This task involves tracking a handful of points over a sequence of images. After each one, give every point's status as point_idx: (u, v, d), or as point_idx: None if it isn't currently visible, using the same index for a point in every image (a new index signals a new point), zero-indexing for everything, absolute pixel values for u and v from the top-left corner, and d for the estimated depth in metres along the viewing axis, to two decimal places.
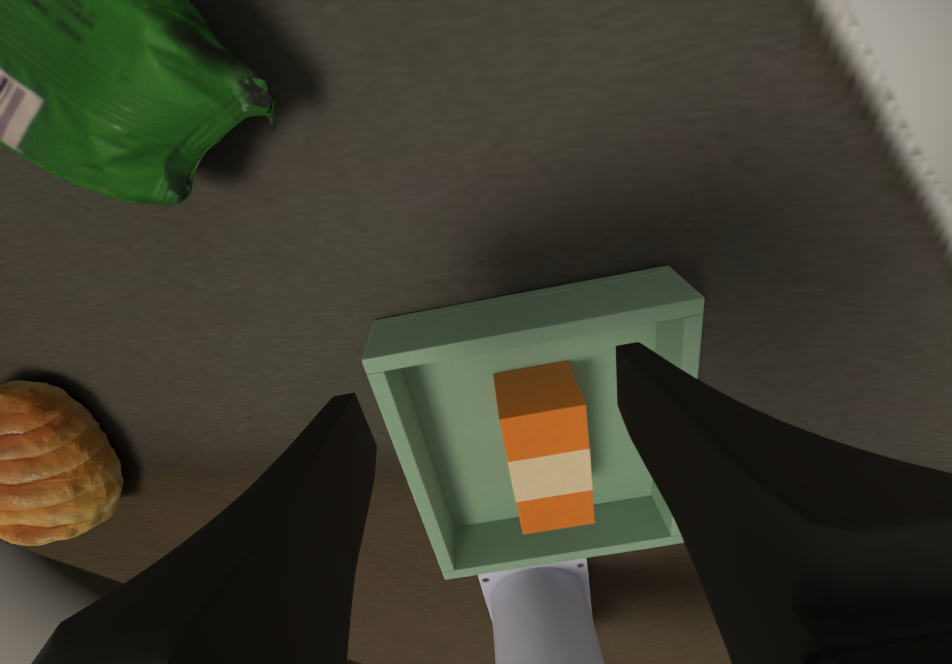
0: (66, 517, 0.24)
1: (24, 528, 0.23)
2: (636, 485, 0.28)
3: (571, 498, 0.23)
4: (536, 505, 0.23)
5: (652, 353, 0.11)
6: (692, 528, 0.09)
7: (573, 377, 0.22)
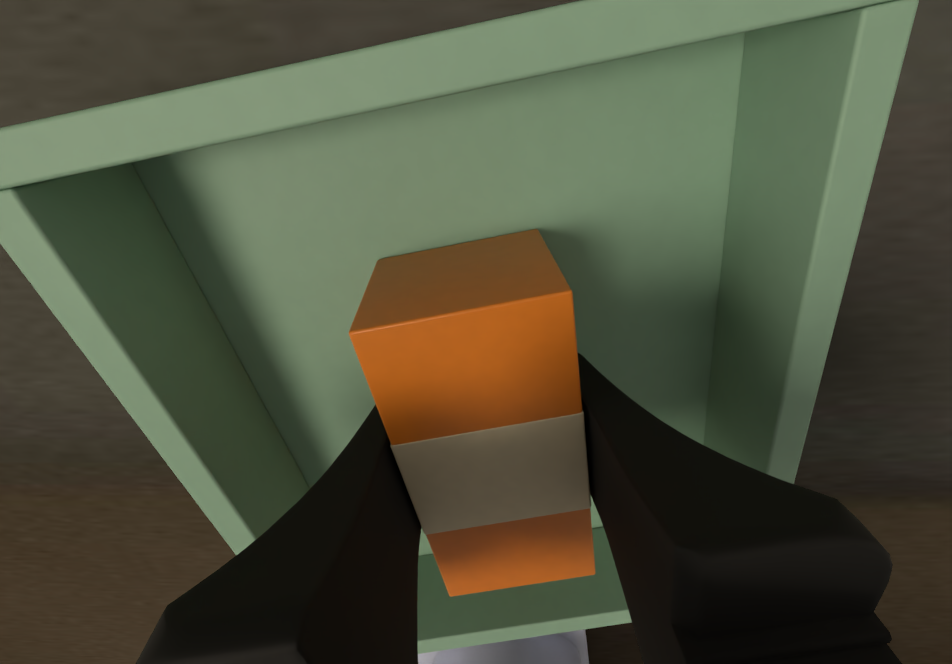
0: None
1: None
2: None
3: (544, 526, 0.11)
4: (471, 541, 0.11)
5: (586, 365, 0.11)
6: (614, 540, 0.09)
7: (545, 249, 0.09)
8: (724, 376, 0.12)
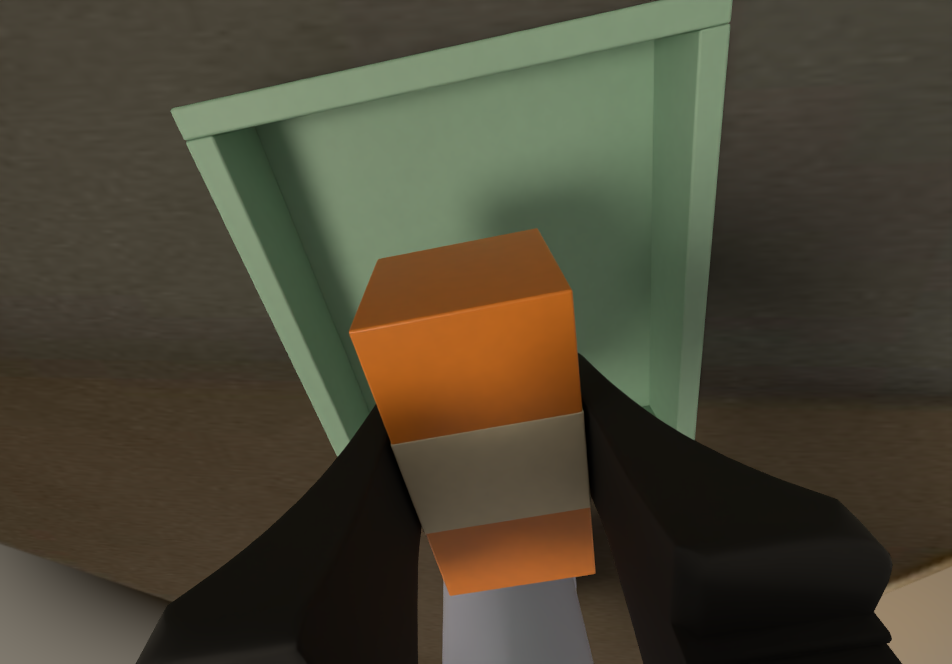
0: None
1: None
2: (627, 389, 0.21)
3: (543, 525, 0.11)
4: (471, 541, 0.11)
5: (586, 365, 0.11)
6: (614, 540, 0.09)
7: (545, 248, 0.09)
8: (657, 284, 0.17)
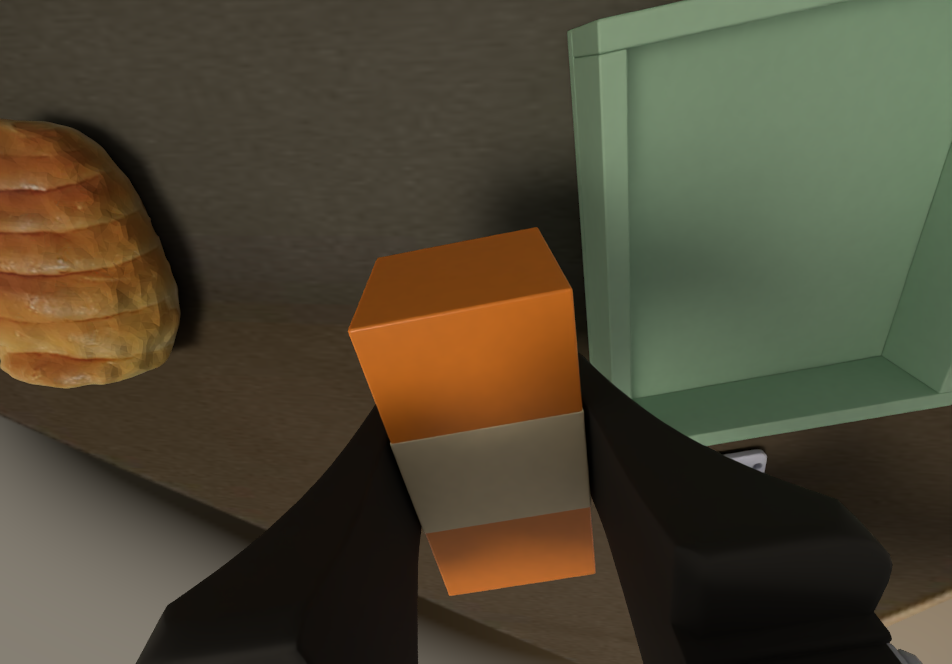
0: (105, 345, 0.16)
1: (45, 358, 0.16)
2: (865, 339, 0.21)
3: (544, 525, 0.11)
4: (471, 540, 0.11)
5: (586, 365, 0.11)
6: (614, 540, 0.09)
7: (545, 247, 0.09)
8: (943, 223, 0.17)
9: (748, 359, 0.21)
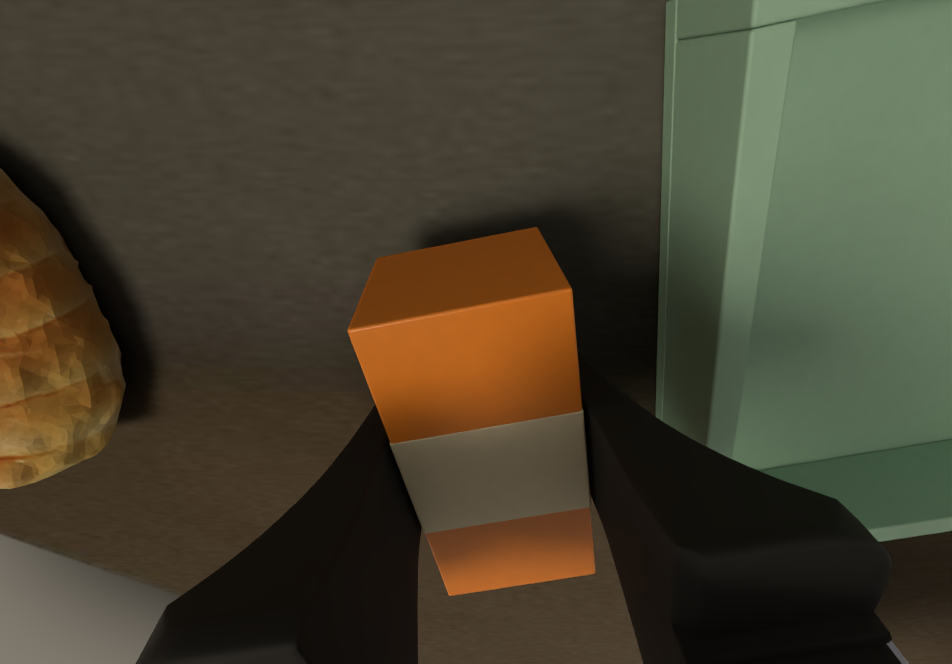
0: (11, 440, 0.12)
1: None
2: None
3: (543, 525, 0.11)
4: (470, 540, 0.11)
5: (587, 365, 0.11)
6: (614, 540, 0.09)
7: (545, 247, 0.09)
8: None
9: (858, 433, 0.17)
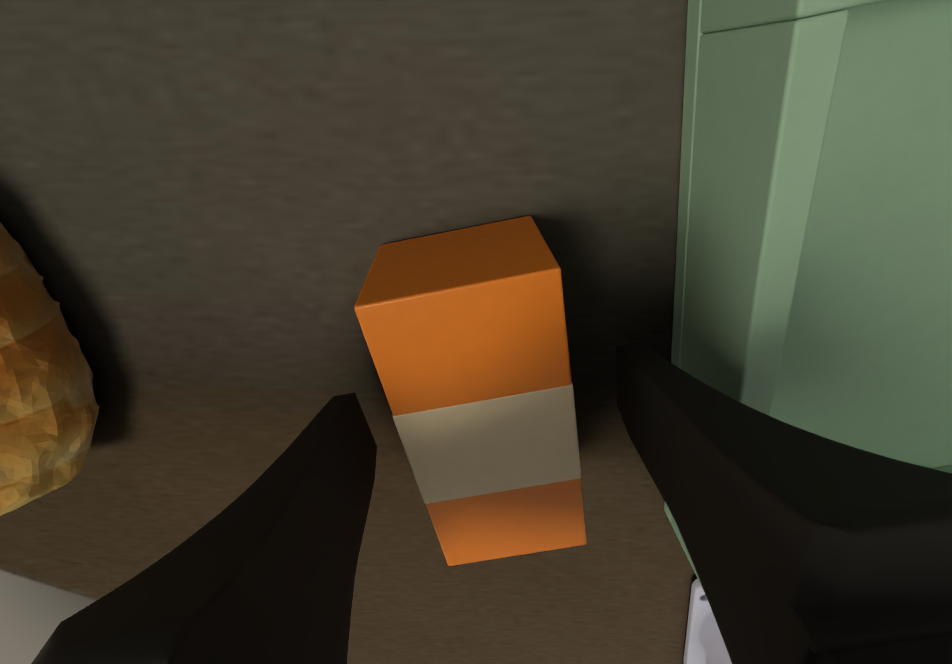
0: None
1: None
2: None
3: (537, 496, 0.11)
4: (468, 511, 0.12)
5: (652, 353, 0.11)
6: (692, 528, 0.09)
7: (537, 233, 0.10)
8: None
9: (883, 454, 0.16)
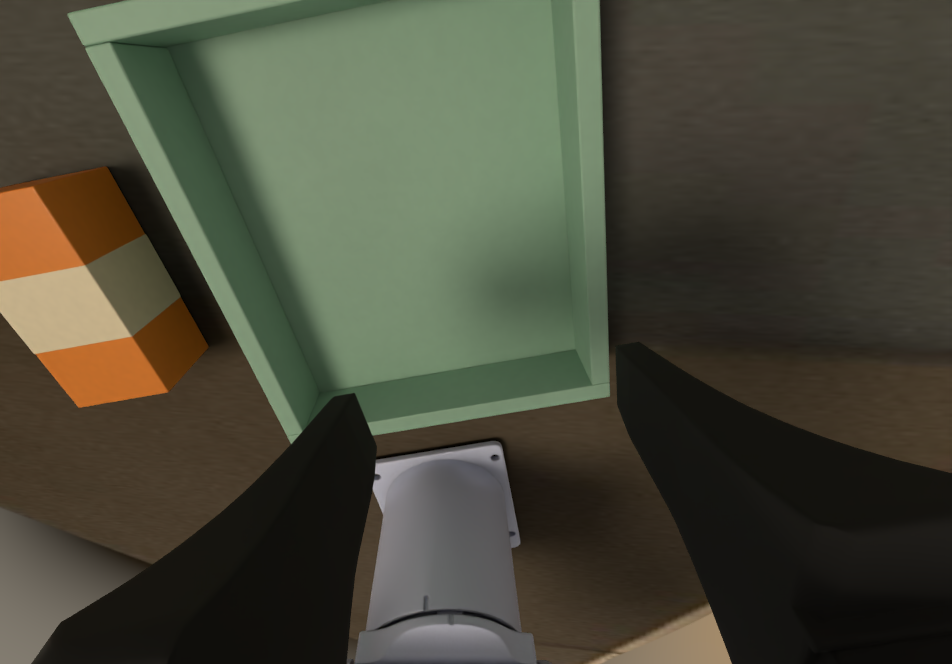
0: None
1: None
2: (553, 332, 0.21)
3: (109, 350, 0.17)
4: (68, 361, 0.18)
5: (652, 353, 0.11)
6: (692, 528, 0.09)
7: (77, 173, 0.16)
8: (569, 219, 0.18)
9: (443, 351, 0.22)
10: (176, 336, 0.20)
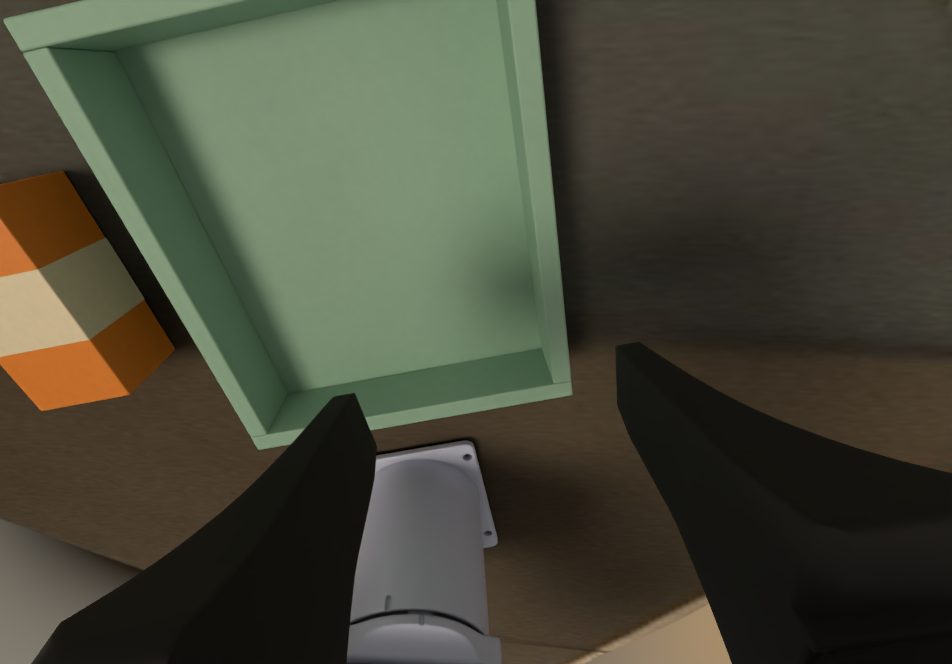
0: None
1: None
2: (518, 331, 0.21)
3: (67, 353, 0.17)
4: (27, 364, 0.18)
5: (652, 353, 0.11)
6: (692, 528, 0.09)
7: (30, 178, 0.16)
8: (526, 217, 0.18)
9: (409, 351, 0.22)
10: (139, 339, 0.20)
